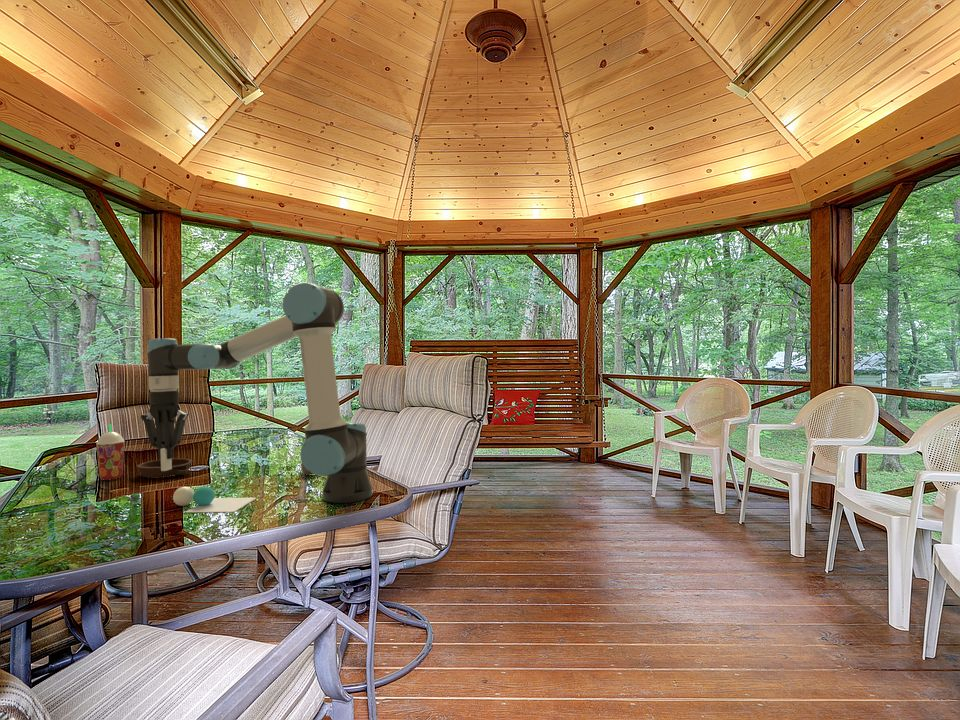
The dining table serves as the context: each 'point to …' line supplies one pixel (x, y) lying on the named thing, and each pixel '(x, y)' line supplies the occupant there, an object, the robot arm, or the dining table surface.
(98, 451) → the smoothie
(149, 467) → the dish
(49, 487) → the dining table surface
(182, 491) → the cue ball
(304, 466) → the vase
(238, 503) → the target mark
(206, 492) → the object ball
